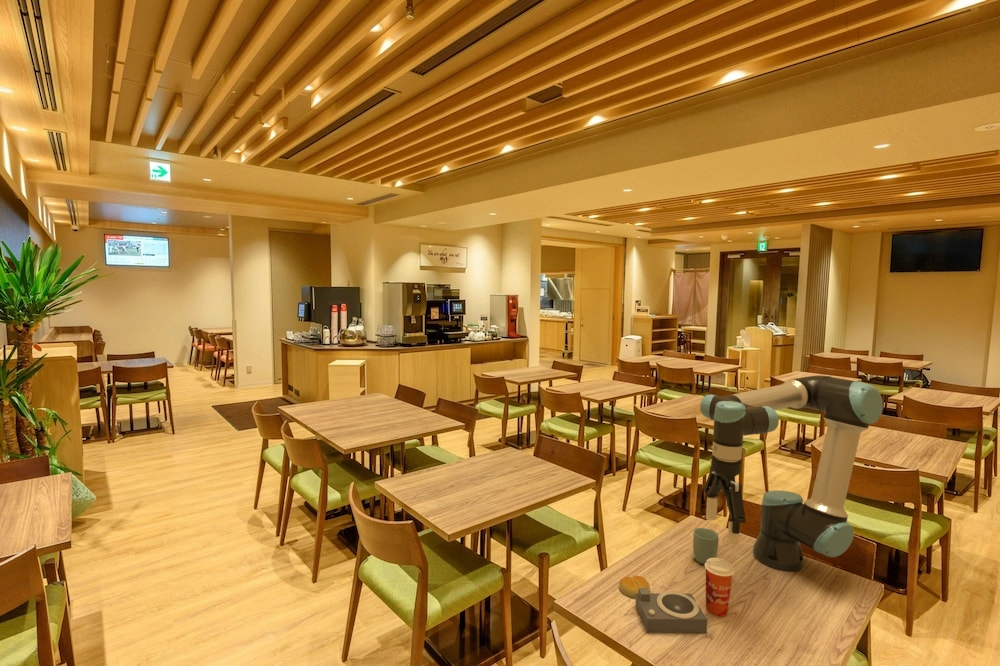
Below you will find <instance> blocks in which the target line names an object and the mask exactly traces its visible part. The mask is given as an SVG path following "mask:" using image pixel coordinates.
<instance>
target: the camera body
mask: <svg viewBox="0 0 1000 666" xmlns="http://www.w3.org/2000/svg"><path fill="white" fill-rule="evenodd" d="M634 606H635V609H636V611H637V613H638V616H639V617H640V619H641V622H642V624H643V625H642V626H643V627H644V629H645V631H646V633H647V634H707V632H708V631H707V630H708V629H707V628H708V618H707V616H706V615H705V613H704V611H703V610H702V608H701V607H700V605H699V604H698V602H697V600H696V599H695V597H694V595H693V594H692V593H684V592H683V593H682V592H678V591H663V592H661V593H659V592H654V593H653V592H651V593H649V591H648V589H647V588H639V589H638V593H636V598H635V605H634Z"/></svg>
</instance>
